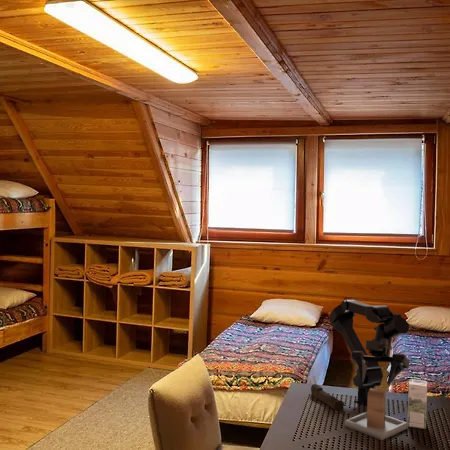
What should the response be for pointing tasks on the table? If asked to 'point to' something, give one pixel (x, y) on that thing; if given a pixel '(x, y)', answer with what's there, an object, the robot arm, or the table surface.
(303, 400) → the table surface
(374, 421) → the walnut block
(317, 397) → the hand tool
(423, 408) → the syrup box
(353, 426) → the tray
